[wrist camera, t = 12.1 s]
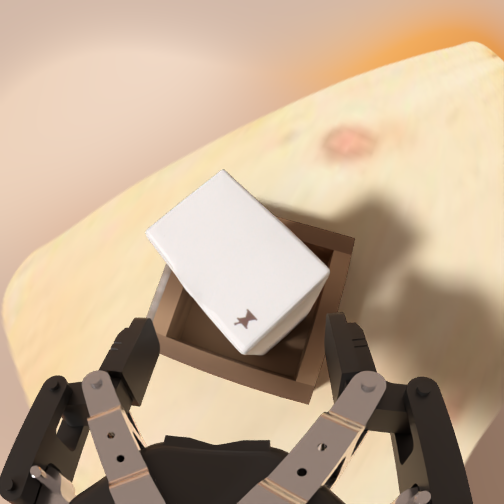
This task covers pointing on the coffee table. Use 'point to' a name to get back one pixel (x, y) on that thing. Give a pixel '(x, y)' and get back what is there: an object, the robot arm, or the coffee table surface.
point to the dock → (280, 356)
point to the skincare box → (239, 263)
